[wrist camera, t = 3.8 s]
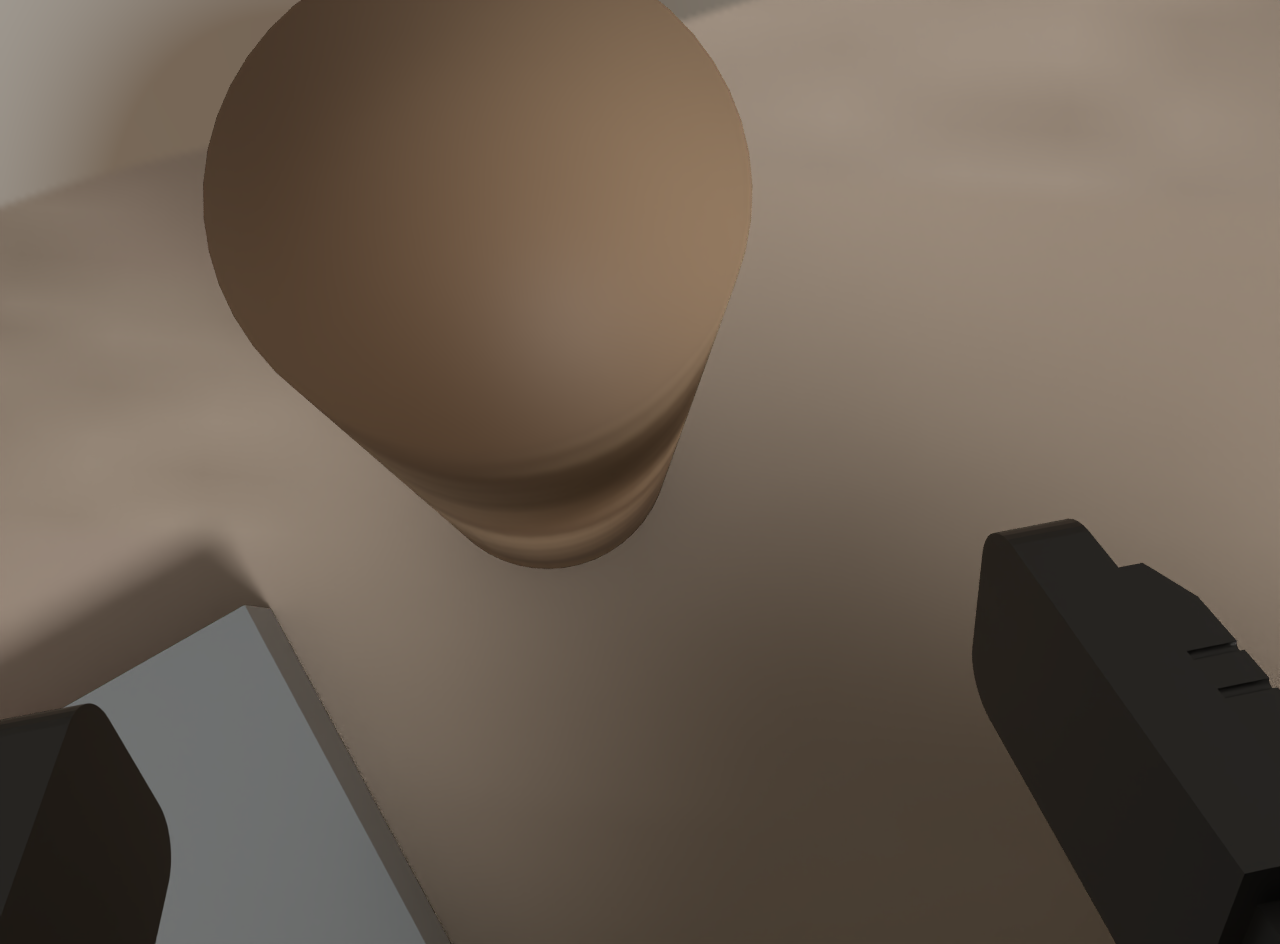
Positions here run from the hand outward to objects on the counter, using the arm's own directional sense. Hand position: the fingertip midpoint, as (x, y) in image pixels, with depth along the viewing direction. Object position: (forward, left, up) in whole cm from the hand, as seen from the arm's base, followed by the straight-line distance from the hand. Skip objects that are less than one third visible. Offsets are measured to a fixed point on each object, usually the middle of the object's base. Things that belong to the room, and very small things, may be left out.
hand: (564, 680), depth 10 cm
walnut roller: (-2, -4, -10) cm, 11 cm away
